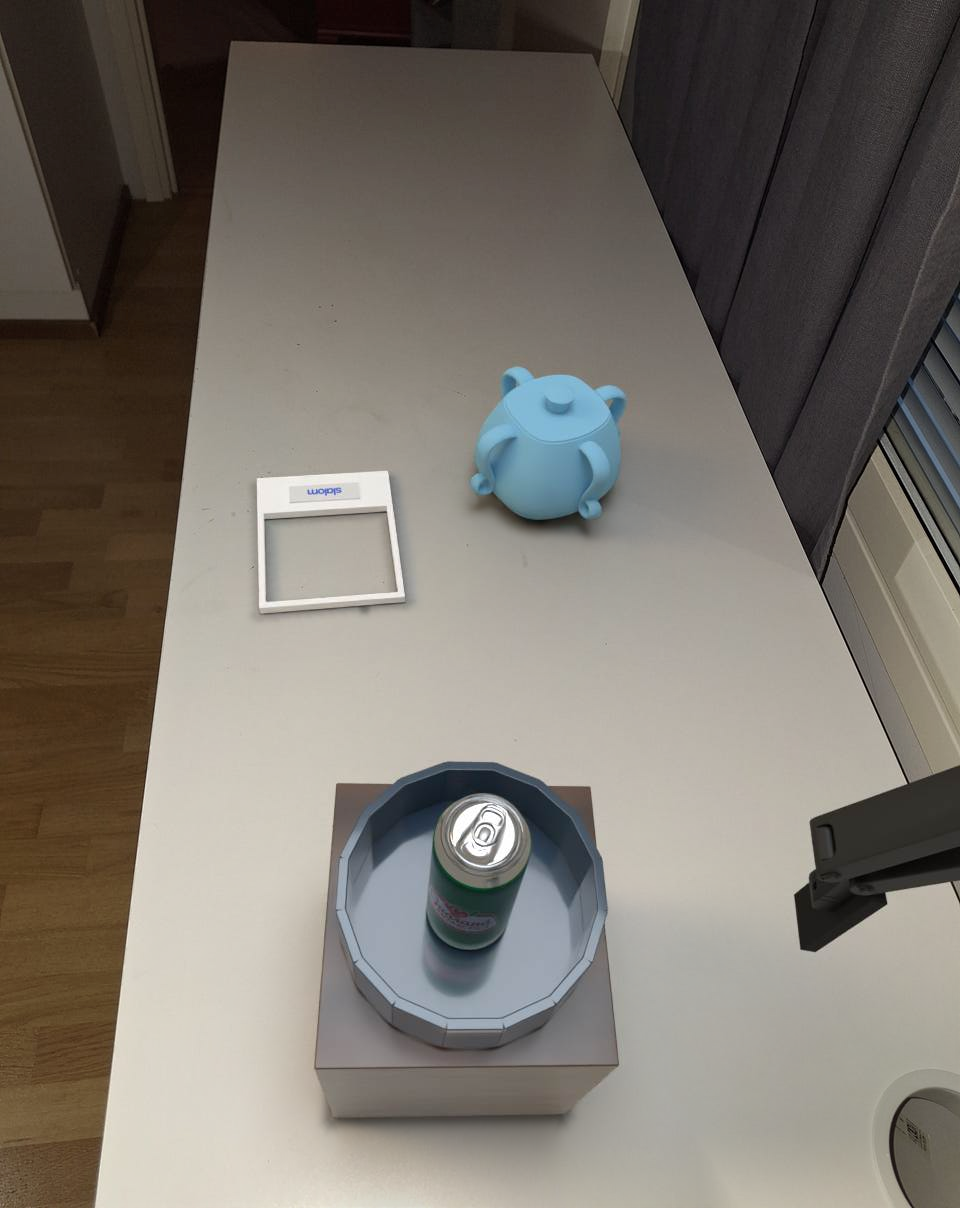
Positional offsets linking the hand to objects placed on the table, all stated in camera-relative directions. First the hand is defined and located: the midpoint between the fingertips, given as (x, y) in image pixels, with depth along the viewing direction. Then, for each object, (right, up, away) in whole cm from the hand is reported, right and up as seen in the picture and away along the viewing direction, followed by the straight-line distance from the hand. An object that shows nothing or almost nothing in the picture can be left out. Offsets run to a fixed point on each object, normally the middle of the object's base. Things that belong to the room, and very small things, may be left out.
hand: (936, 946), depth 44 cm
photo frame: (-39, +24, +53) cm, 70 cm away
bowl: (-23, -2, +11) cm, 26 cm away
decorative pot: (-15, +31, +61) cm, 70 cm away
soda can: (-23, -2, +11) cm, 25 cm away
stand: (-25, -14, +27) cm, 39 cm away
